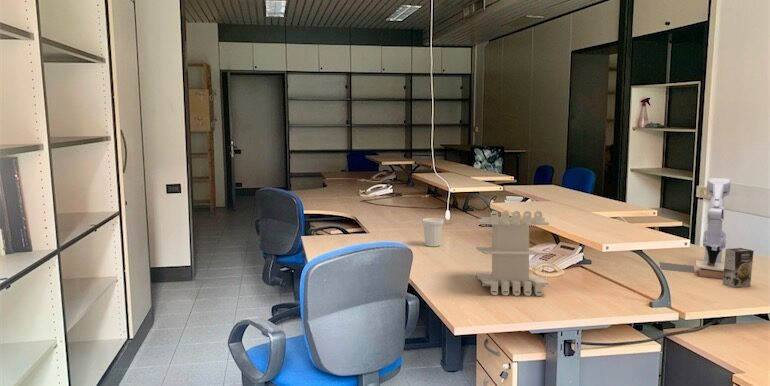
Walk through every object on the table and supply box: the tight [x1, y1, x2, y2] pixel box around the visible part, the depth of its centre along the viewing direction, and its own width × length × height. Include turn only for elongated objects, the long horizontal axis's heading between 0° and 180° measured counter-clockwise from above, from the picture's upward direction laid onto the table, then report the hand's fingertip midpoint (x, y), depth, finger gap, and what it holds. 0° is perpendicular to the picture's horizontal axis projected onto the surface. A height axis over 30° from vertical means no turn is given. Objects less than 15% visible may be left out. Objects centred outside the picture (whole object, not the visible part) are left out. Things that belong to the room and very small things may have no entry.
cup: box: [421, 217, 445, 248], centre depth 320 cm, size 12×12×15 cm
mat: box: [659, 261, 696, 274], centre depth 271 cm, size 15×15×1 cm
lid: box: [695, 256, 724, 271], centre depth 257 cm, size 12×12×5 cm
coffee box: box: [722, 247, 755, 289], centre depth 242 cm, size 9×6×16 cm
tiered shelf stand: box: [475, 210, 550, 297], centre depth 244 cm, size 26×31×35 cm
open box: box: [697, 268, 724, 280], centre depth 258 cm, size 10×10×4 cm
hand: (711, 262), depth 257 cm, fingers closed on lid, 3 cm apart
